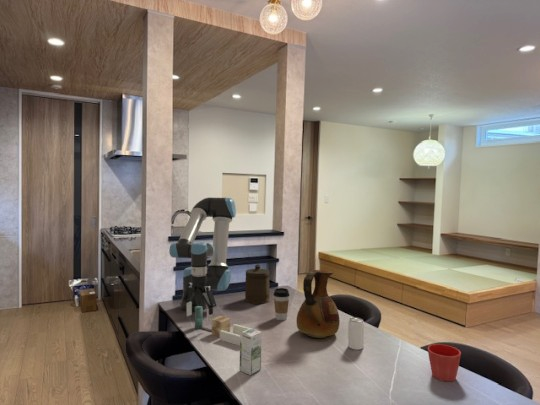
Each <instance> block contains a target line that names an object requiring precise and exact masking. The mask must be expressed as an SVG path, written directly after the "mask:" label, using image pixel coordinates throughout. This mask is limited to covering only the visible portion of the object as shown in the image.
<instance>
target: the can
mask: <svg viewBox="0 0 540 405" xmlns="http://www.w3.org/2000/svg"><path fill="white" fill-rule="evenodd" d="M347 333H348V336H347V338H348V339H347V340H348V341H347V345H348V348H350V350H354V351H361V350H363V349H364V347H365V346H364V344H365V323H364V319H363V318H361V317H357V316H352V317H349V320H348V332H347Z"/></svg>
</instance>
